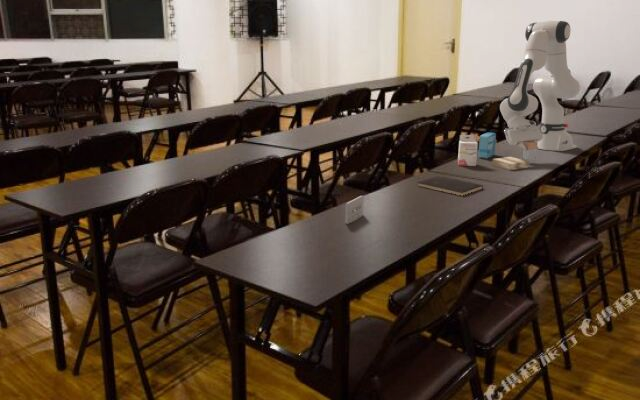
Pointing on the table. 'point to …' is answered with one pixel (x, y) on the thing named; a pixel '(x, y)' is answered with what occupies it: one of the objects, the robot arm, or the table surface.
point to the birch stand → (510, 163)
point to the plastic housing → (530, 150)
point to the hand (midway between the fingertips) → (531, 149)
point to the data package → (487, 145)
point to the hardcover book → (450, 185)
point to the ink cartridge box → (467, 151)
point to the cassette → (354, 209)
